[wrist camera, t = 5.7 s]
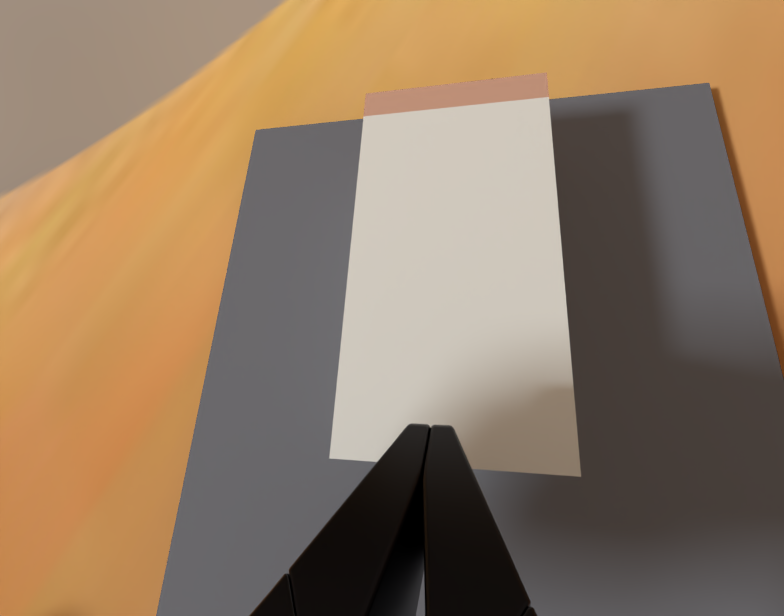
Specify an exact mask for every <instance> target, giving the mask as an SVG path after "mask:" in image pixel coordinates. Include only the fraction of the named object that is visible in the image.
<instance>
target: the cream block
mask: <svg viewBox="0 0 784 616" xmlns="http://www.w3.org/2000/svg"><path fill="white" fill-rule="evenodd" d="M411 423H417V424H428V425H429V426H430V427H431V426H432V425H435V424H436V425H451V426H452V427H453V428H454V429H455V431H456V434H457V436H458V438H459V441H460V443H461V445H462V447H463V450H464V452H465V454H466V456H467V459H468V461H469V463H470V465H471V468H472V469H481V470H495V471H509V472H522V473H536V474H550V475H564V476H578V477H581V469H580V457H579V445H578V434H577V422H576V410H575V399H574V387H573V375H572V363H571V352H570V340H569V328H568V317H567V305H566V293H565V281H564V270H563V258H562V246H561V235H560V223H559V211H558V199H557V188H556V176H555V164H554V153H553V141H552V129H551V118H550V106H549V94H548V82H547V73H539V74H531V75H522V76H514V77H505V78H496V79H488V80H479V81H471V82H462V83H454V84H445V85H437V86H428V87H419V88H411V89H402V90H394V91H385V92H377V93H368V94H366V98H365V108H364V118H363V128H362V138H361V148H360V158H359V168H358V177H357V187H356V197H355V207H354V217H353V227H352V237H351V247H350V257H349V267H348V277H347V287H346V297H345V307H344V317H343V327H342V337H341V347H340V356H339V366H338V376H337V386H336V396H335V406H334V416H333V426H332V436H331V446H330V456H329V458H330V459H343V460H357V461H371V462H377V461H378V460H379V459H380V458H381V457H382V455H383V454H384V453H385V452H386V451H387V449H388V448H389V447H390V446H391V445H392V443H393V442H394V441H395V440H396V438H397V437H398V436H399V435H400V434H401V432H402V431H403V430H404V429H405V428H406V426H407V425H408V424H411Z"/></svg>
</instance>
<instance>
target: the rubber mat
mask: <svg viewBox="0 0 784 616" xmlns="http://www.w3.org/2000/svg"><path fill="white" fill-rule="evenodd" d="M549 106H550V118H551V129H552V141H553V153H554V164H555V176H556V188H557V199H558V211H559V223H560V235H561V246H562V258H563V270H564V281H565V293H566V305H567V317H568V328H569V340H570V352H571V363H572V375H573V387H574V399H575V410H576V422H577V434H578V445H579V457H580V469H581V477H578V476H564V475H550V474H536V473H522V472H509V471H495V470H481V469H472V470H473V472H474V474H475V477H476V479H477V481H478V483H479V486H480V488H481V490H482V492H483V495H484V497H485V499H486V502H487V504H488V506H489V508H490V511H491V513H492V515H493V517H494V520H495V522H496V524H497V526H498V529H499V531H500V533H501V535H502V538H503V540H504V542H505V544H506V547H507V549H508V551H509V553H510V556H511V558H512V560H513V563H514V565H515V567H516V569H517V572H518V574H519V576H520V578H521V581H522V583H523V585H524V587H525V590H526V592H527V594H528V596H529V599H530V601H531V607H533V608H534V609H535V612H536V614H537V616H784V378H783V374H782V370H781V366H780V362H779V358H778V354H777V351H776V347H775V343H774V339H773V335H772V331H771V327H770V323H769V319H768V315H767V311H766V307H765V303H764V299H763V295H762V291H761V287H760V283H759V279H758V275H757V271H756V267H755V263H754V259H753V255H752V251H751V247H750V243H749V239H748V235H747V231H746V227H745V223H744V219H743V216H742V212H741V208H740V204H739V200H738V196H737V192H736V188H735V184H734V180H733V176H732V172H731V168H730V164H729V160H728V156H727V152H726V148H725V144H724V140H723V136H722V132H721V128H720V124H719V120H718V116H717V112H716V108H715V104H714V100H713V96H712V92H711V88H710V84H709V83H703V84H694V85H684V86H674V87H665V88H655V89H645V90H636V91H626V92H617V93H607V94H597V95H588V96H578V97H568V98H559V99H549ZM362 128H363V119H357V120H347V121H338V122H328V123H318V124H309V125H299V126H290V127H280V128H270V129H261V130H256V132H255V137H254V142H253V146H252V151H251V156H250V161H249V166H248V171H247V176H246V181H245V185H244V190H243V195H242V200H241V205H240V210H239V215H238V220H237V224H236V229H235V234H234V239H233V244H232V249H231V254H230V259H229V263H228V268H227V273H226V278H225V283H224V288H223V293H222V298H221V302H220V307H219V312H218V317H217V322H216V327H215V332H214V337H213V341H212V346H211V351H210V356H209V361H208V366H207V371H206V376H205V380H204V385H203V390H202V395H201V400H200V405H199V410H198V415H197V419H196V424H195V429H194V434H193V439H192V444H191V449H190V454H189V458H188V463H187V468H186V473H185V478H184V483H183V488H182V493H181V498H180V502H179V507H178V512H177V517H176V522H175V527H174V532H173V537H172V541H171V546H170V551H169V556H168V561H167V566H166V571H165V576H164V580H163V585H162V590H161V595H160V600H159V605H158V610H157V615H156V616H249V615H250V614H251V613H252V612H253V611H254V609H255V608H256V607H257V606H258V605H259V604H260V603H261V601H262V600H263V599H264V598H265V597H266V596H267V594H268V593H269V592H270V591H271V590H272V588H273V587H274V586H275V585H276V583H277V582H278V581H279V580H280V579H281V577H282V576H283V575H284V574H285V573H288V574H289V568H290V567H291V566H292V564H293V563H294V562H295V561H296V560H297V558H298V557H299V556H300V555H301V554H302V552H303V551H304V550H305V549H306V548H307V546H308V545H309V544H310V543H311V541H312V540H313V539H314V538H315V537H316V535H317V534H318V533H319V532H320V531H321V529H322V528H323V527H324V526H325V524H326V523H327V522H328V521H329V520H330V518H331V517H332V516H333V515H334V514H335V512H336V511H337V510H338V509H339V508H340V506H341V505H342V504H343V503H344V501H345V500H346V499H347V498H348V497H349V495H350V494H351V493H352V492H353V491H354V489H355V488H356V487H357V486H358V484H359V483H360V482H361V481H362V480H363V478H364V477H365V476H366V475H367V474H368V472H369V471H370V470H371V469H372V468H373V466H374V465H375V464H376V463H377V462H371V461H357V460H343V459H330V458H329V456H330V446H331V436H332V426H333V416H334V406H335V396H336V386H337V376H338V366H339V356H340V347H341V337H342V327H343V317H344V307H345V297H346V287H347V277H348V267H349V257H350V247H351V237H352V227H353V217H354V207H355V197H356V187H357V177H358V168H359V158H360V148H361V138H362ZM416 616H425V590H424V573H423V578H422V584H421V590H420V595H419V601H418V606H417V612H416Z"/></svg>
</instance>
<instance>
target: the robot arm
mask: <svg viewBox="0 0 784 616" xmlns="http://www.w3.org/2000/svg"><path fill="white" fill-rule="evenodd" d="M423 573H424V590H425V616H537V614H536V612H535V609H534V608H533V607H531V601H530V599H529V596H528V594H527V592H526V590H525V587H524V585H523V583H522V581H521V578H520V576H519V574H518V572H517V569H516V567H515V565H514V563H513V560H512V558H511V556H510V553H509V551H508V549H507V547H506V544H505V542H504V540H503V538H502V535H501V533H500V531H499V529H498V526H497V524H496V522H495V520H494V517H493V515H492V513H491V511H490V508H489V506H488V504H487V502H486V499H485V497H484V495H483V492H482V490H481V488H480V486H479V483H478V481H477V479H476V477H475V474H474V472H473V470H472V468H471V465H470V463H469V461H468V459H467V456H466V454H465V452H464V450H463V447H462V445H461V443H460V441H459V438H458V436H457V434H456V431H455V429H454V428H453V427H452V426H451V425H436V424H435V425H432V426H431V427H430V426H429V425H428V424H417V423H411V424H408V425H407V426H406V428H405V429H404V430H403V431H402V432H401V434H400V435H399V436H398V437H397V438H396V440H395V441H394V442H393V443H392V445H391V446H390V447H389V448H388V449H387V451H386V452H385V453H384V454H383V455H382V457H381V458H380V459H379V460H378V461H377V463H376V464H375V465H374V466H373V468H372V469H371V470H370V471H369V472H368V474H367V475H366V476H365V477H364V478H363V480H362V481H361V482H360V483H359V484H358V486H357V487H356V488H355V489H354V491H353V492H352V493H351V494H350V495H349V497H348V498H347V499H346V500H345V501H344V503H343V504H342V505H341V506H340V508H339V509H338V510H337V511H336V512H335V514H334V515H333V516H332V517H331V518H330V520H329V521H328V522H327V523H326V524H325V526H324V527H323V528H322V529H321V531H320V532H319V533H318V534H317V535H316V537H315V538H314V539H313V540H312V541H311V543H310V544H309V545H308V546H307V548H306V549H305V550H304V551H303V552H302V554H301V555H300V556H299V557H298V558H297V560H296V561H295V562H294V563H293V564H292V566H291V567H290V568H289V574H288V573H285V574H284V575H283V576H282V577H281V579H280V580H279V581H278V582H277V583H276V585H275V586H274V587H273V588H272V590H271V591H270V592H269V593H268V594H267V596H266V597H265V598H264V599H263V600H262V601H261V603H260V604H259V605H258V606H257V607H256V608H255V609H254V611H253V612H252V613H251V614H250V615H249V616H416V612H417V606H418V601H419V595H420V590H421V584H422V578H423Z"/></svg>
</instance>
